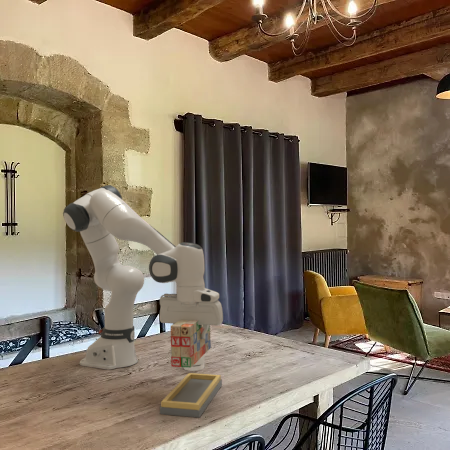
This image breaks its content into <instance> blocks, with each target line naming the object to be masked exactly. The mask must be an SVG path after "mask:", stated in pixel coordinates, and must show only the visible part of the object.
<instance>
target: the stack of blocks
mask: <svg viewBox="0 0 450 450" xmlns="http://www.w3.org/2000/svg"><path fill="white" fill-rule="evenodd" d="M204 329H205V328H203V325H198V320H179V321H178V322H176V323H175V324H173V323H172V324H171V325H170V351H171V352H170V354H171V356H170V357H171V358H170V362H171V363H170V364H171V367H174V368H183V367H189V368H191V367H192V366H193V365H194V364H195V363H196V362H197V361H198V360H199V359H200V358H201V357H202V356H203V355H204V356H205V354H206V353H207V352H208V351H209V350H210V349H211V346H212V345H211V343H212V342H211V325H209V328H208V330H207V331H206V337H205V339H200V333H201V332H203V331H204Z"/></svg>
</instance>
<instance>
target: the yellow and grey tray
mask: <svg viewBox="0 0 450 450" xmlns="http://www.w3.org/2000/svg"><path fill="white" fill-rule="evenodd" d="M221 377H222V375H221V374H210V373H209V374H208V373H195V372H189V373H187V374H186V375H185V376H184V378H182V379H181V380H180V382H179V383H177V384H176V386H175V387H174V388H173V389H172V390H171V391H170V392H169V393H168V394H167V395H166V396H165V397H164V398H163V399H162V400H161V401H160V406H159V414H160V415H166V416H167V415H168V416H176V417H177V416H179V417H188V418H189V417H190V418H201V416H202V415H203V413H204V412H205V411H206V409H207V408H208V406H209V405H210V403H211V402H212V400H213V399H214V397H215V396H216V395H217V393H218V391H219V390H220V388H221V387H222V385H223V379H222V378H221Z"/></svg>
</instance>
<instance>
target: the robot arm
mask: <svg viewBox="0 0 450 450" xmlns="http://www.w3.org/2000/svg"><path fill="white" fill-rule="evenodd" d="M62 214H63V219H64V221H65V223H66V225H67V226H68V227H69V229H71V230H72V231H75V232H76V233H77V232H79V234H80V236H81V239H82V240H83V243H84V245H85V247H86V248H87V250H88V252H89V255H90V256H91V259H92V262H93V265H94V270H95V272H94V274H93V280H94V283H95V285H96V286H97V287H99V288H101V289H102V290H104V291H106V292H107V291H108V292H111V294H110V300H109V301H108V304H107V305H106V306H105V308H104V327H103V328H101V329H99V331H98V334H100V337H98V338H97V339H96V340H95V341H94V342H93V343H91V344H90V345H89V346H88V347H87V349H86V354H85V357H83V358H82V359H81V360H80V361H79V366H83V367H91V368H97V369H103V370H113V369H119V368H126V367H130V366H133V365H135V364H137V363H138V360H139V359H138V358H137V357H138V356H137V353H136V348H135V336H136V335H135V326H134V305H135V301H136V299H137V294H138V293H139V292H140V291H141V289H143V287H144V285H145V276H144V273H143V272H142V271H141V270H140V269H139V268H137V267H135V266H132V265H125V264H122V263H121V262H120V260H119V255H118V253H119V252H120V245H119V244H118V242H117V239H118V240H122V241H127V242H132V243H133V242H134V243H137V244H142V245H144V246H145V247H148V248H149V249H150V250H151V251H152V252H154V253H155V254H156V255H154V256H153V257H152V258H151V259H150V260H149V263H148V272H149V274H150V277H151V278H152V279H153V280H154V282H156V283H161V284H167V283H174V282H175V283H176V293H164V294H162V295H161V296H160V298H159V305H160V310H159V316H158V317H159V321H160V322H161V323H162V324H172V325H173V324H175V323H176V322H178V321H179V320H198V325H203V328H205V329H204V331H203V332H201V333H200V339H205V337H206V331H207V330H208V328H209V325H210V326H217V327H219V326H220V325H221V324H222V323H223V321H224V313H223V312H224V310H223V307H222V306H223V305H222V303H221V302H220V301H219V299H220V293H219V292H217V291H215V290H212V289H209V288H207V287H206V284H205V280H204V279H205V278H204V274H205V256H204V251H203V248H202V247H201V245H199V244H197V243H194V242H185V241H184V242H180V243H178V244H177V245H176V244H175V245H174V243H172V242H171V241H170V240H169V239H168V238H166V237H165V236H164V235H163V234H162V233H161V232H159V230H157V229H156V228H155V227H154V226H152V225H151V224H149V223H148V222H147V221H146V220H145V219H144V218H143V217H141V216H140V215H139V214H138V213H137V212H136V211H135V210H134V209H133V208H132V207H130V205H128V203H126V201H124V200H123V197H122V195H121V192H120V191H119V190H118V189H117V188H116V187H115V186H113V185H111V184H108V185H104V186H101V187H100V188H97V189H94V190H92V191H89V192H88V193H86V194H85V195H83V196H82V197H80V198H77V199H76V200H75V201H74V202H70V203H69V204H68V205H66V206H65V207H64V209H63V213H62ZM116 238H117V239H116Z"/></svg>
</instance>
